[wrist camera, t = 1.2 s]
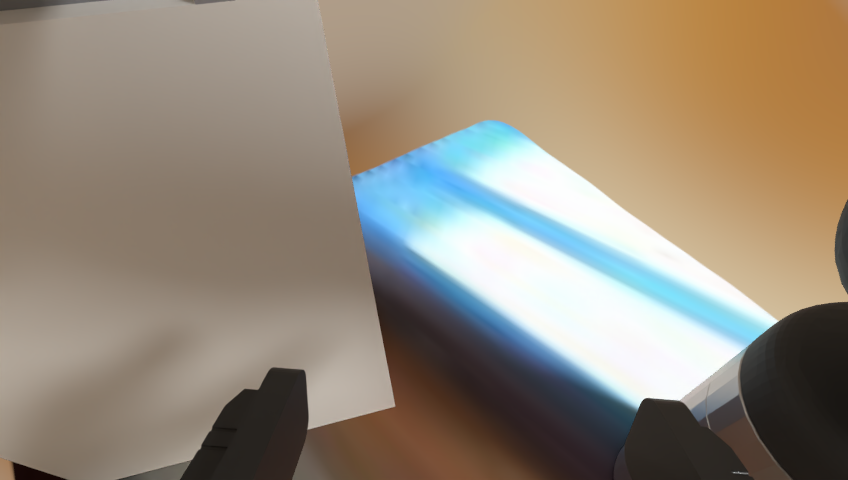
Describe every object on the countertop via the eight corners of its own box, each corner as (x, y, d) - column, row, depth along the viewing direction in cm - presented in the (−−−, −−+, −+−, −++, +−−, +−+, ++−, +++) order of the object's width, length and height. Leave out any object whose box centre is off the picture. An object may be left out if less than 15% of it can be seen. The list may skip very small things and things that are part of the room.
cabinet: (395, 406, 35) (298, -104, 10) (89, 486, 32) (-1376, 11, 6) (366, 263, 46) (280, -169, 20) (132, 311, 42) (-343, -142, 16)
